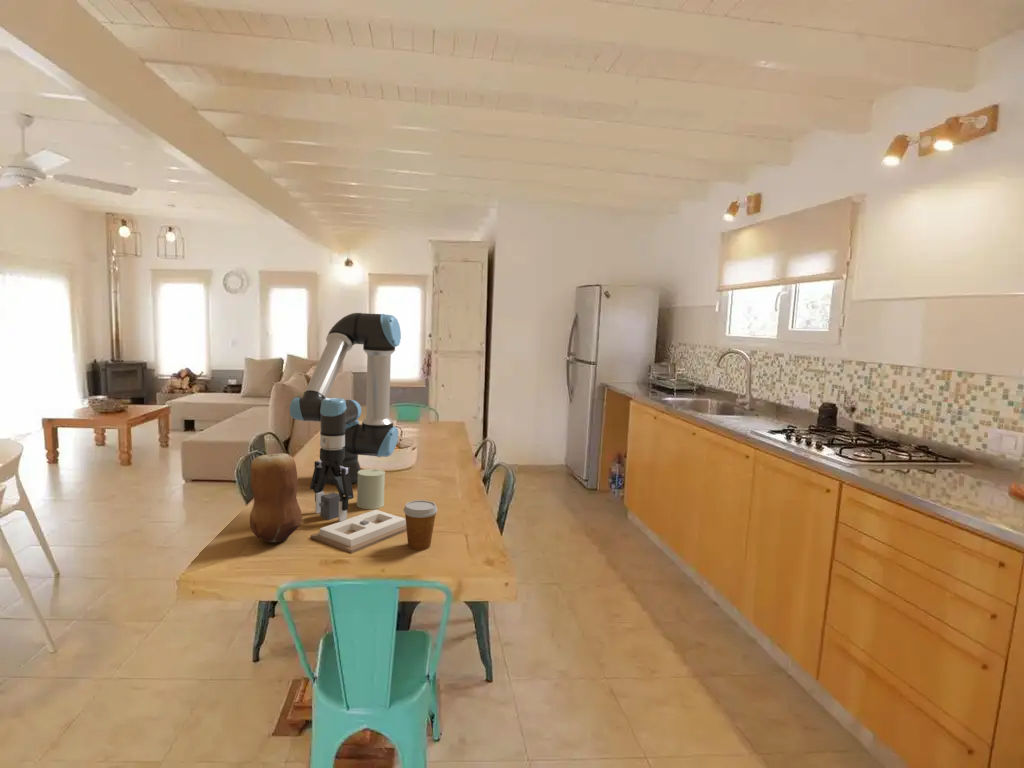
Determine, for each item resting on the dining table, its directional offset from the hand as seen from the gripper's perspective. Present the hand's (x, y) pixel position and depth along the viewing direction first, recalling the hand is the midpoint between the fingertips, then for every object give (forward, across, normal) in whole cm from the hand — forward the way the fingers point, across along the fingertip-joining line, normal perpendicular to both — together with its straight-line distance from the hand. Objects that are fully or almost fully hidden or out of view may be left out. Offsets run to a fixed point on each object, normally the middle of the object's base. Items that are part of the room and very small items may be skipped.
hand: (330, 515), depth 184 cm
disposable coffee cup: (0, +37, 0) cm, 37 cm away
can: (0, +1, +16) cm, 16 cm away
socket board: (0, +18, -3) cm, 18 cm away
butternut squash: (+1, +4, -23) cm, 23 cm away
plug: (0, 0, 0) cm, 0 cm away
